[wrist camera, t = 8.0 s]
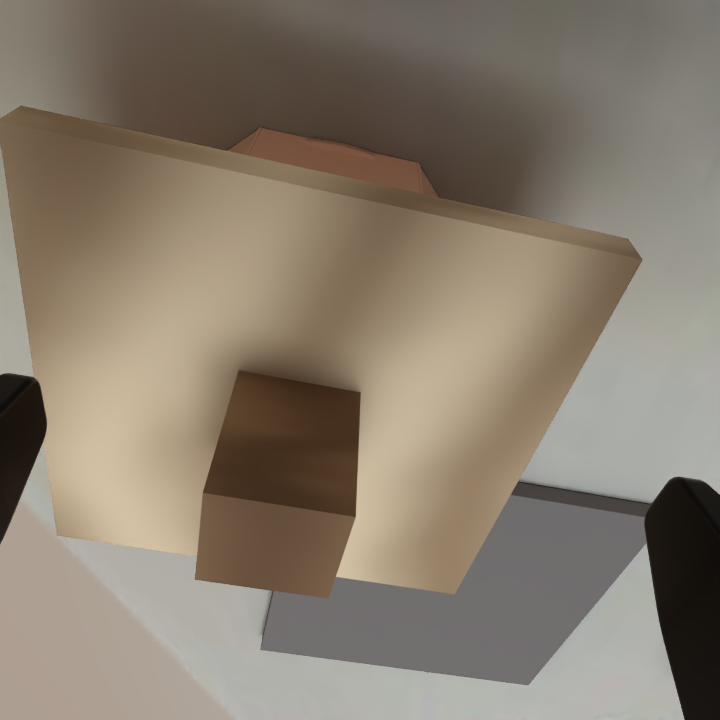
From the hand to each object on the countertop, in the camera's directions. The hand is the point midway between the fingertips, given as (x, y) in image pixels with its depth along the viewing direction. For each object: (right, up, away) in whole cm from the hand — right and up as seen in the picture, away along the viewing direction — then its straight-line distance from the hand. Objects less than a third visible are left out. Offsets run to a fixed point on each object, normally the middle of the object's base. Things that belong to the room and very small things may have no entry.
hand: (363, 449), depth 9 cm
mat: (+4, -10, +23) cm, 25 cm away
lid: (-2, 0, +9) cm, 9 cm away
